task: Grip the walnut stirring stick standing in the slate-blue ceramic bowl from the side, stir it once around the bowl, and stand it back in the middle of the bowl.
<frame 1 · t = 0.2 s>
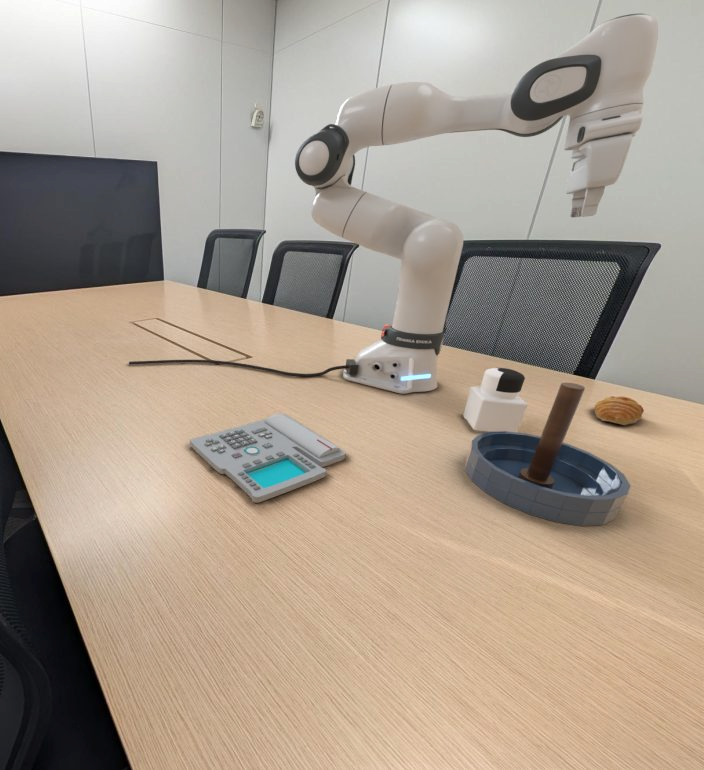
hand: (581, 216, 71), 39 cm above the table, tool pointing down, fingers open, 8 cm apart
bowl: (532, 487, 58), on the table
medicine bottle: (487, 427, 76), on the table
office telephone: (270, 455, 68), on the table
stirring stick: (533, 484, 58), point 1 cm above the table, touching bowl
pastry: (615, 418, 78), on the table
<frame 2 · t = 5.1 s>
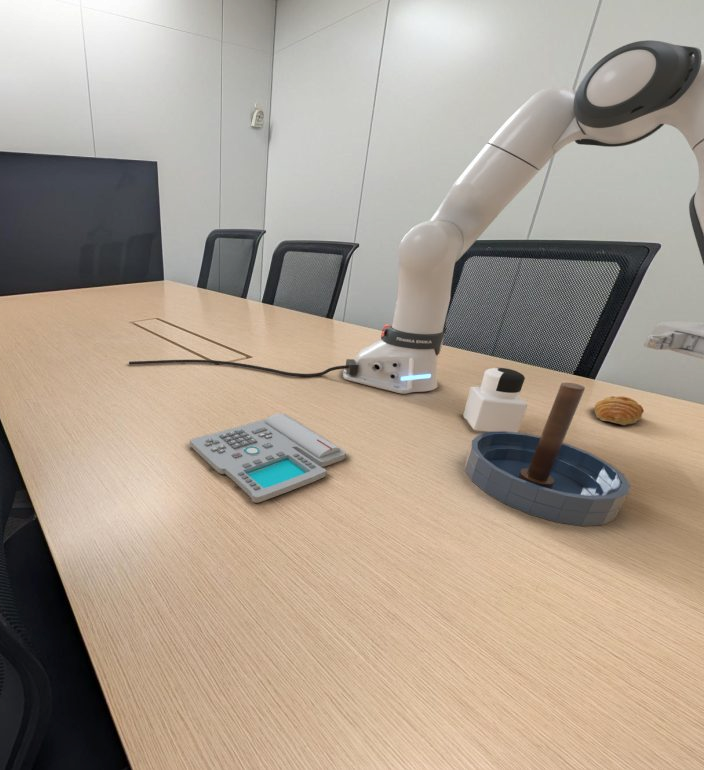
hand: (688, 352, 48), 22 cm above the table, tool horizontal, fingers open, 8 cm apart
nothing on the table moved.
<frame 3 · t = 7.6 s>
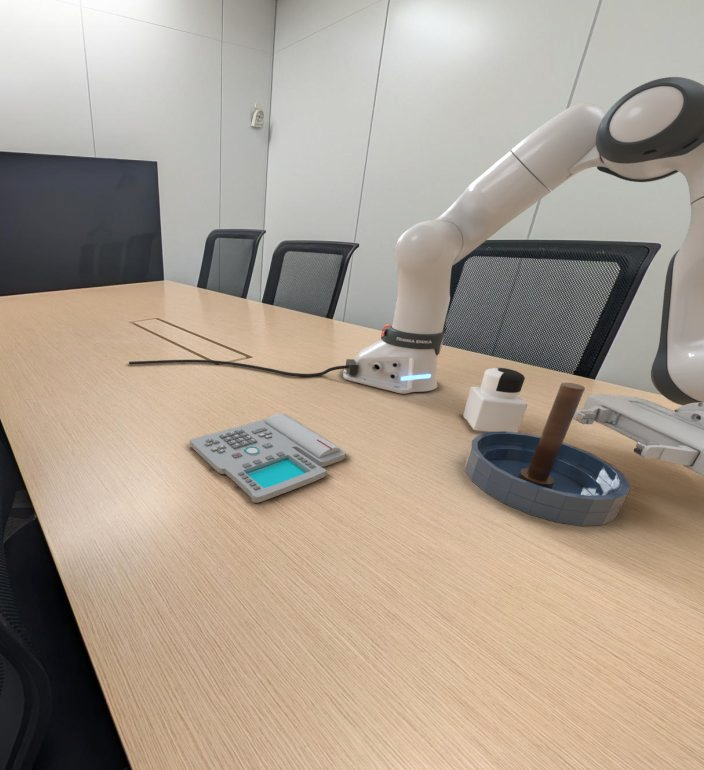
hand: (606, 432, 54), 10 cm above the table, tool horizontal, fingers open, 8 cm apart
nothing on the table moved.
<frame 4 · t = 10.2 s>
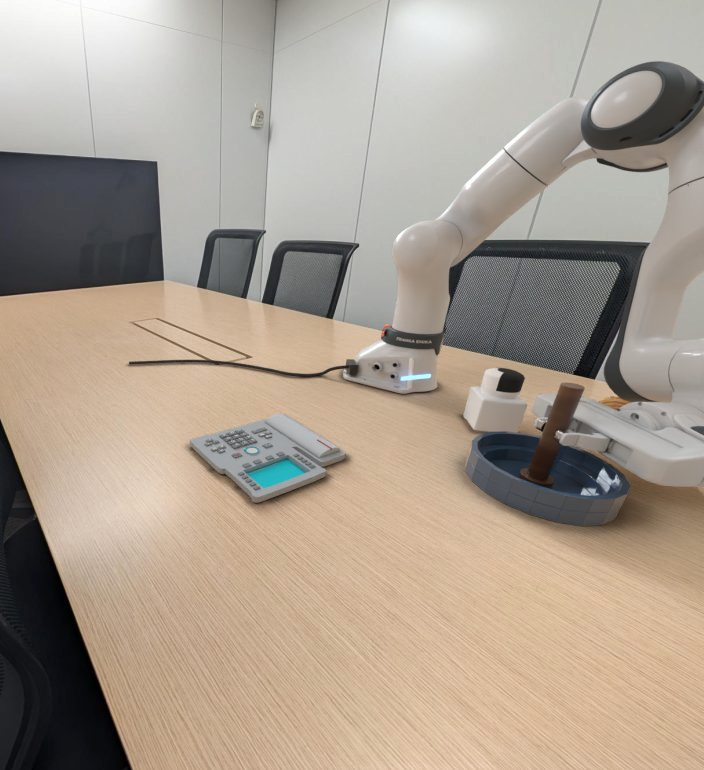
hand: (548, 431, 54), 10 cm above the table, tool horizontal, fingers closed on stirring stick, 2 cm apart
stirring stick: (533, 484, 58), point 1 cm above the table, touching bowl, gripper
everything else where it was.
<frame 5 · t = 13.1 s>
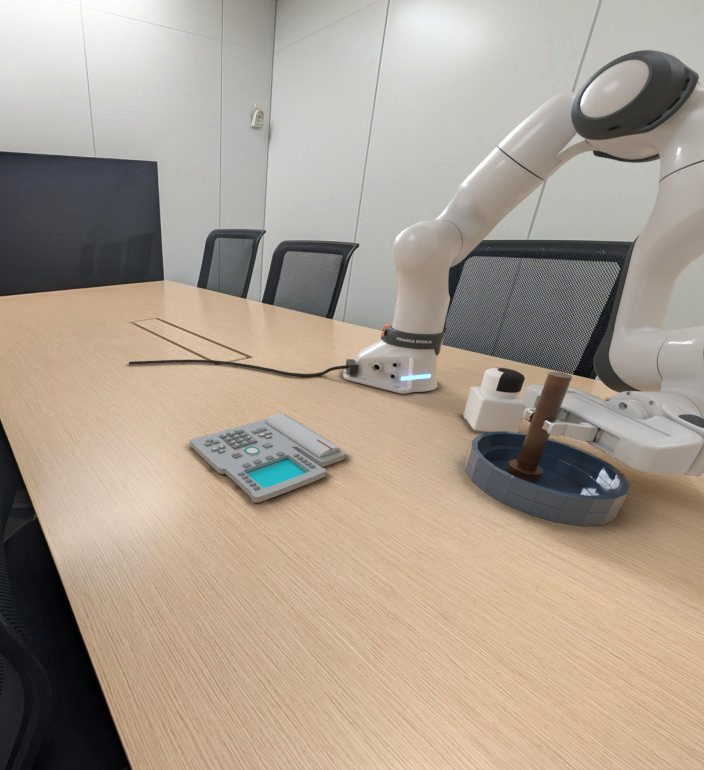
hand: (536, 421, 54), 12 cm above the table, tool horizontal, fingers closed on stirring stick, 2 cm apart
stirring stick: (522, 475, 57), point 2 cm above the table, touching gripper
everything else where it was.
when the fingers open (10 cm above the table, at t = 16.0 s): stirring stick stays where it is, resting on bowl.
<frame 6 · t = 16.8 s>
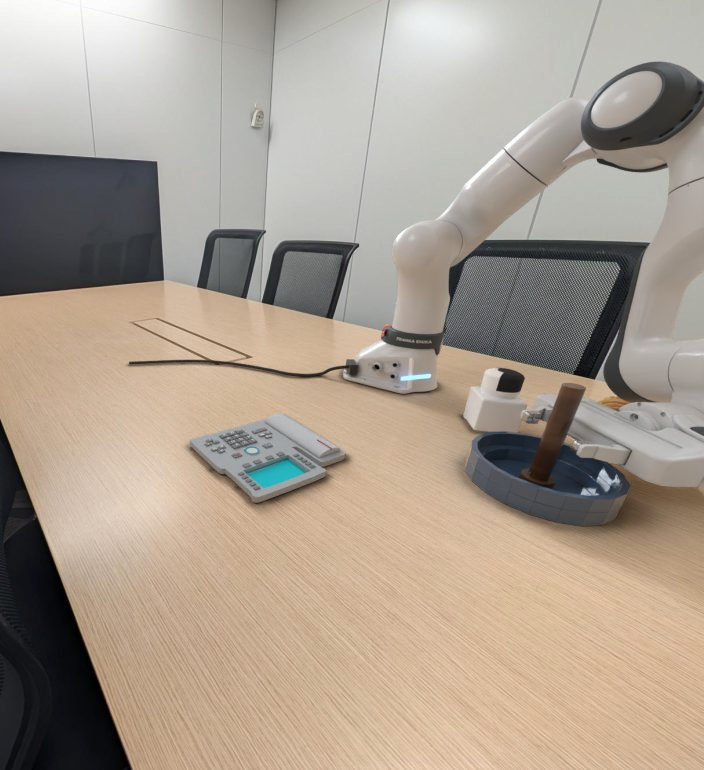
hand: (547, 431, 54), 10 cm above the table, tool horizontal, fingers open, 8 cm apart
stirring stick: (534, 484, 58), point 1 cm above the table, touching bowl
everything else where it was.
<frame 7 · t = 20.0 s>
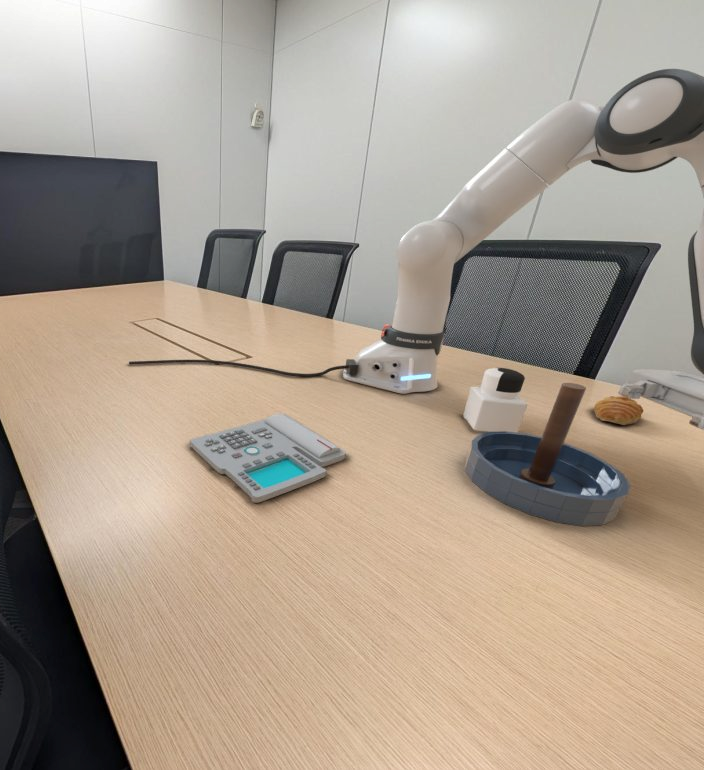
hand: (657, 405, 52), 14 cm above the table, tool horizontal, fingers open, 8 cm apart
nothing on the table moved.
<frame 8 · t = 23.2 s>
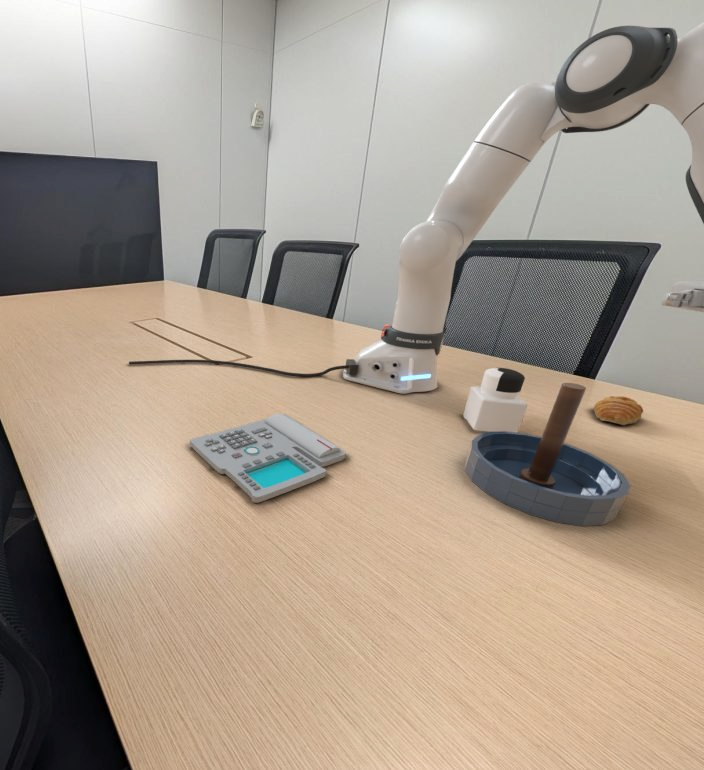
nothing on the table moved.
at the end: stirring stick 0.1 cm from the bowl (horizontally); stirring stick tilted 0°; the gripper is holding nothing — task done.
